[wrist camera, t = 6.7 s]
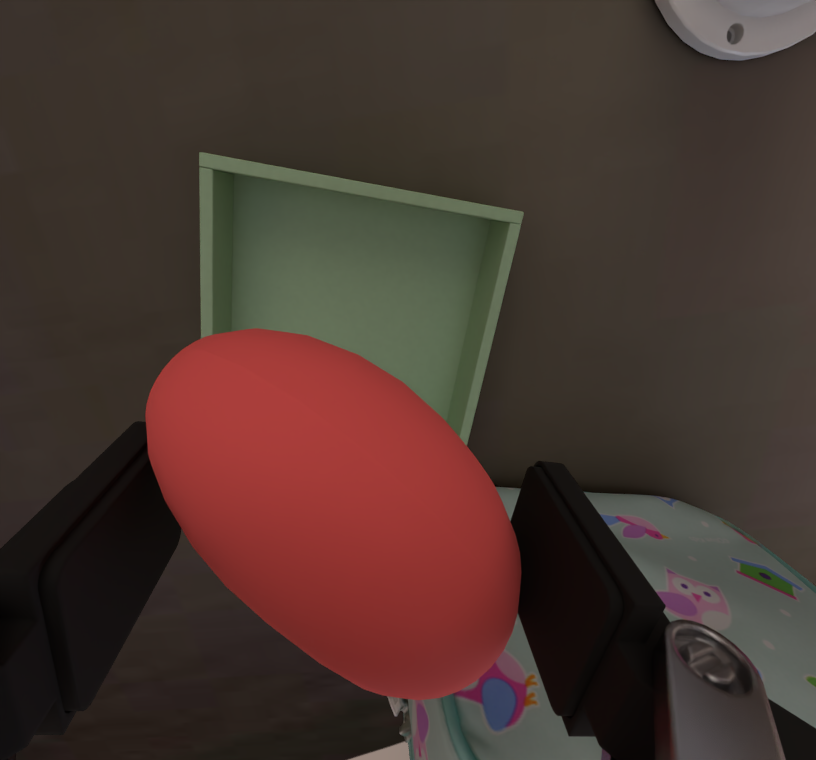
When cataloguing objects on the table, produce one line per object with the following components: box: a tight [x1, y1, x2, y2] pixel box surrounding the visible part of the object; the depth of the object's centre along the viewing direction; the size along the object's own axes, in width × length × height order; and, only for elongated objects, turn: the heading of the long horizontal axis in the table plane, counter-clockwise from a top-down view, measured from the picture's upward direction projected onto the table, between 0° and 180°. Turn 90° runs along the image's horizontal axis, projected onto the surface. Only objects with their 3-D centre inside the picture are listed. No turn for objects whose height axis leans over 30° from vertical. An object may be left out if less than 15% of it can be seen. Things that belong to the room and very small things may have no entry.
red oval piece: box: [145, 328, 522, 700], centre depth 9 cm, size 5×9×6 cm, turn 23°
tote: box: [199, 152, 524, 446], centre depth 25 cm, size 15×15×4 cm
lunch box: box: [387, 487, 816, 760], centre depth 24 cm, size 27×10×21 cm, turn 82°
